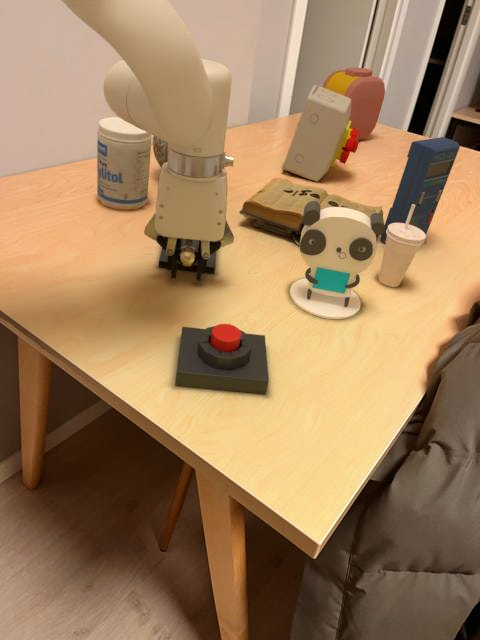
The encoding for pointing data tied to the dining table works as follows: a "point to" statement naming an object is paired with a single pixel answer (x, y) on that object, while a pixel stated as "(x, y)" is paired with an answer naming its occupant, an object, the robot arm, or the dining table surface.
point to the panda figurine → (334, 259)
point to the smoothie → (399, 250)
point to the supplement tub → (122, 164)
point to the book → (292, 206)
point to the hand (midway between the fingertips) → (186, 274)
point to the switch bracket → (209, 268)
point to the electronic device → (422, 182)
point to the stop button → (225, 338)
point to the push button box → (222, 363)
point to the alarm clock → (359, 96)
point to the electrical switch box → (321, 135)
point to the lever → (187, 254)
